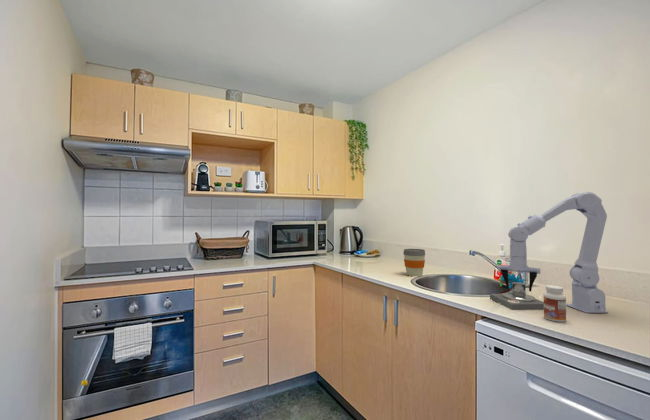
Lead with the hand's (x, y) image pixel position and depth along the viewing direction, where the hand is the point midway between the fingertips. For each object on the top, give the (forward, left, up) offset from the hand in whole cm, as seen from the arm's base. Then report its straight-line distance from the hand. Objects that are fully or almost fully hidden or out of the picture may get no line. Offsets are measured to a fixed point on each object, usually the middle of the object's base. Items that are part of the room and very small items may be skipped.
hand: (518, 289), depth 122 cm
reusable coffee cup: (+57, +25, -5) cm, 62 cm away
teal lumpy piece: (+25, -13, -6) cm, 29 cm away
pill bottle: (-19, +1, -5) cm, 20 cm away
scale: (-1, +2, -5) cm, 6 cm away
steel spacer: (0, 0, -3) cm, 3 cm away
